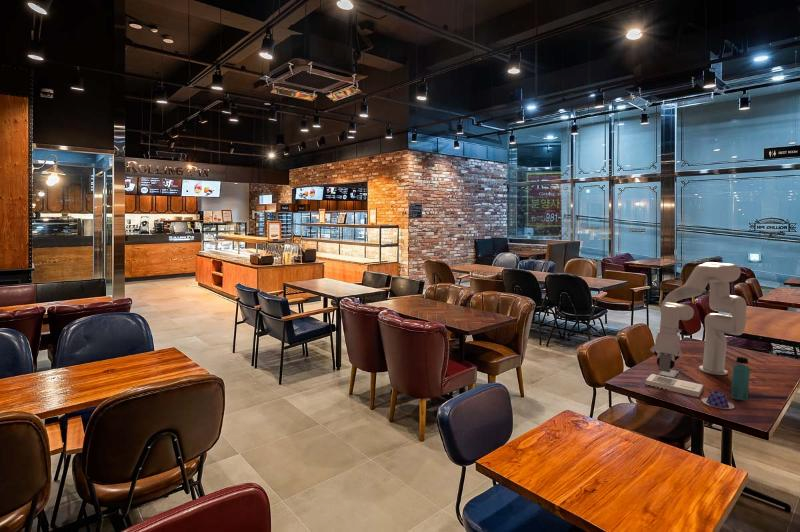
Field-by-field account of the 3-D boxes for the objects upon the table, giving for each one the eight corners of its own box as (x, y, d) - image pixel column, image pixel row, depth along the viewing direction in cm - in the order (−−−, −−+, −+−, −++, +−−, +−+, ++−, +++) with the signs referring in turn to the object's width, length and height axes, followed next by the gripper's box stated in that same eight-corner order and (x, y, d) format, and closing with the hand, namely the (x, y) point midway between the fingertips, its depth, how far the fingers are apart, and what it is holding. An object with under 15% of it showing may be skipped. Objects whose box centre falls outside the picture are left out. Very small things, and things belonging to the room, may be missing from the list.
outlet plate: (651, 378, 228) (651, 373, 228) (702, 389, 214) (703, 384, 213) (645, 384, 219) (645, 379, 219) (698, 397, 205) (699, 391, 204)
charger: (660, 368, 221) (662, 350, 220) (671, 370, 218) (672, 352, 217) (658, 370, 218) (660, 352, 217) (669, 372, 215) (670, 354, 214)
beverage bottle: (750, 404, 198) (755, 360, 195) (733, 402, 199) (738, 359, 197) (742, 398, 204) (747, 356, 202) (726, 397, 205) (730, 354, 203)
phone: (664, 370, 243) (664, 368, 242) (678, 373, 238) (679, 371, 238) (658, 376, 233) (658, 374, 233) (673, 379, 228) (673, 377, 228)
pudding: (701, 397, 206) (702, 386, 205) (733, 403, 199) (734, 392, 198) (701, 406, 196) (702, 394, 195) (735, 413, 189) (736, 401, 188)
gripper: (690, 332, 213) (686, 369, 215) (651, 326, 224) (647, 361, 226) (687, 334, 208) (684, 373, 209) (647, 328, 219) (644, 364, 220)
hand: (665, 366), depth 218 cm, fingers closed on charger, 4 cm apart
